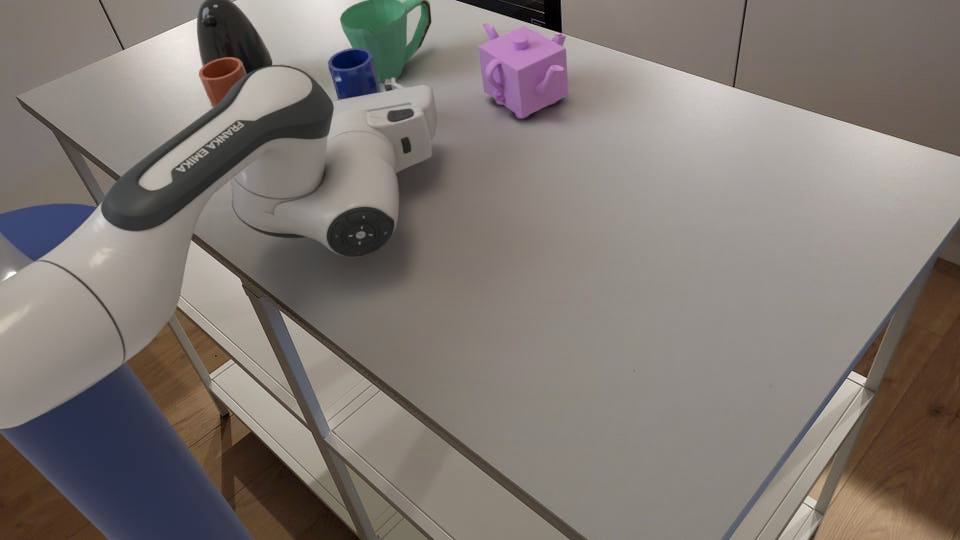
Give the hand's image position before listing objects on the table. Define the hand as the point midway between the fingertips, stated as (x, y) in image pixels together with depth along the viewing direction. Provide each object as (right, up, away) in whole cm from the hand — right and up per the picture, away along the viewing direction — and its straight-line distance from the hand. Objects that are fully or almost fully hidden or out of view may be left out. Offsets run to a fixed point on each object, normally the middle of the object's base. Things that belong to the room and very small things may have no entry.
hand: (355, 89), depth 100 cm
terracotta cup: (-17, -5, +8) cm, 20 cm away
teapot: (+24, 0, +7) cm, 25 cm away
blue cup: (+1, -4, +6) cm, 7 cm away
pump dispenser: (-20, +4, +19) cm, 28 cm away
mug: (+4, +8, +18) cm, 20 cm away
